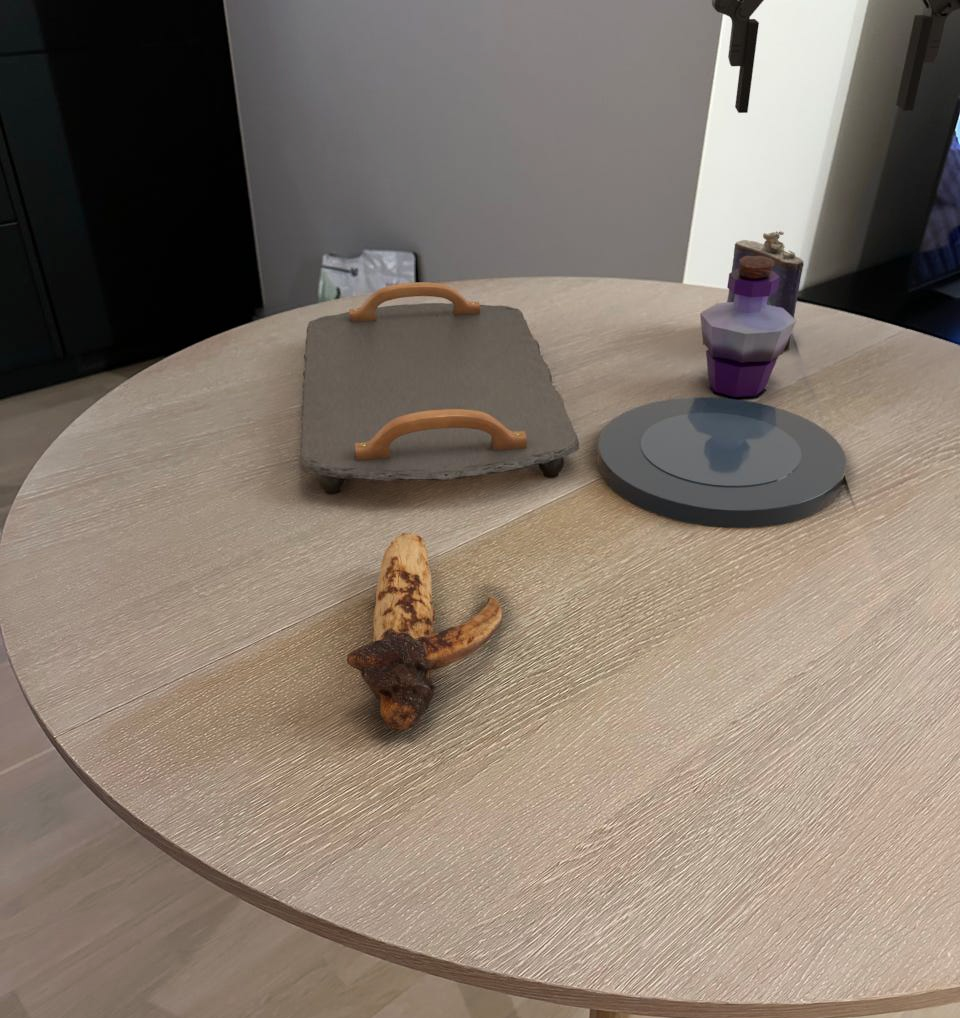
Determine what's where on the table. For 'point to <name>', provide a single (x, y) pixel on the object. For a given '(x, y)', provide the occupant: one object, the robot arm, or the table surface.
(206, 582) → the table surface
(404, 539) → the bone fish hook
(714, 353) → the potion bottle
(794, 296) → the flask
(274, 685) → the table surface
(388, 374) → the serving tray
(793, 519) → the plate
